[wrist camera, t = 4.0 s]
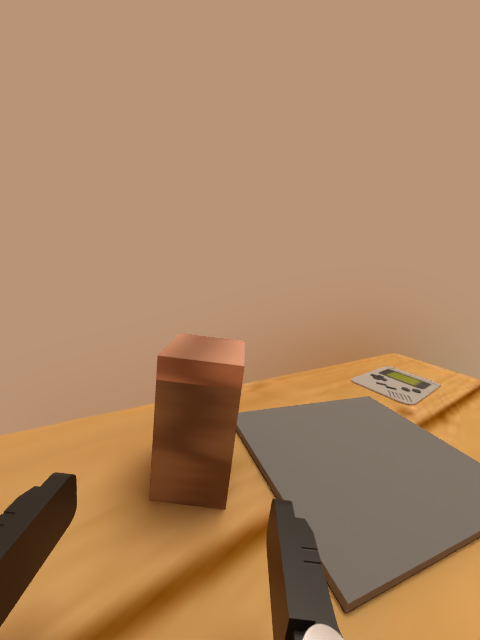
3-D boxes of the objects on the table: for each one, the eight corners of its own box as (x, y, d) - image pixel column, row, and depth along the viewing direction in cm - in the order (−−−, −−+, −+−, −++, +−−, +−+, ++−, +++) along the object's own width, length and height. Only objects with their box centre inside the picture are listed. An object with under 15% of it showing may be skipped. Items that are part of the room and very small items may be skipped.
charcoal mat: (368, 400, 35) (369, 396, 34) (536, 504, 20) (538, 498, 20) (229, 418, 27) (230, 413, 26) (345, 613, 12) (348, 604, 12)
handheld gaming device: (349, 378, 41) (387, 364, 50) (348, 382, 41) (386, 367, 50) (411, 405, 34) (442, 383, 44) (410, 410, 34) (441, 387, 44)
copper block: (230, 454, 22) (244, 341, 20) (225, 509, 17) (244, 366, 15) (171, 447, 22) (179, 333, 20) (149, 500, 17) (157, 355, 15)
